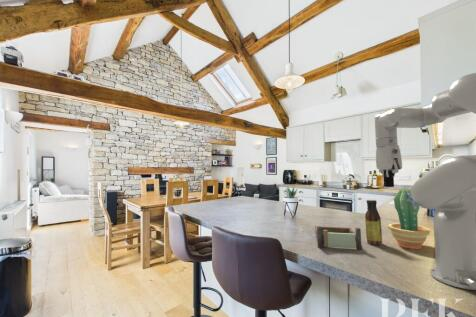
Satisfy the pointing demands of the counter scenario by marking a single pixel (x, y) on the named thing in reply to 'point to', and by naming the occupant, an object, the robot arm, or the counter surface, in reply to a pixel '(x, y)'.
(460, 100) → the robot arm
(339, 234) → the gate
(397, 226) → the potted cactus
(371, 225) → the sauce bottle
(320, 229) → the pen fence
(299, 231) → the counter surface
